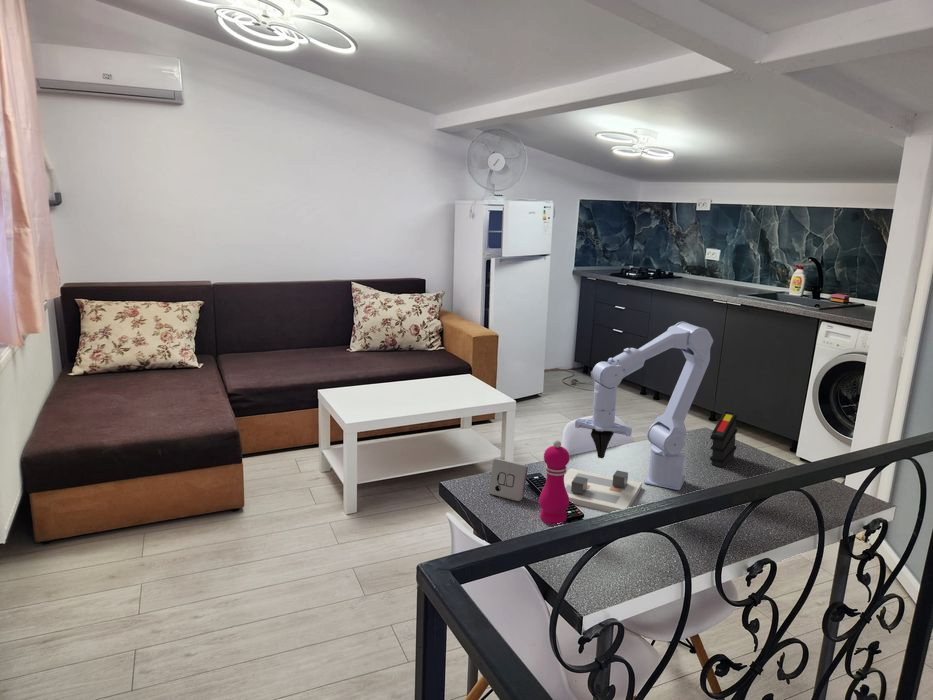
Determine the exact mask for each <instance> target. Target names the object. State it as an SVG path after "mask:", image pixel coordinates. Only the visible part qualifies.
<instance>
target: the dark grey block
mask: <svg viewBox="0 0 933 700" xmlns="http://www.w3.org/2000/svg"><path fill="white" fill-rule="evenodd" d="M612 477H613V484H612V486H617V487H622V488H624V487H625V485H626V484H627V481H628V480H629V472H627V471H622V470H618V469H617V470H616V471H615V472H614V474H613V475H612Z"/></svg>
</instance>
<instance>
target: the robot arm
mask: <svg viewBox="0 0 933 700" xmlns="http://www.w3.org/2000/svg"><path fill="white" fill-rule="evenodd" d="M713 343H714V339H713V337H712V335H711V333H710V331H709V330H708V329H707V328H706V327H705V328H704V327H700V326H697V325H694V324H691V323H688V322H686V321H679V322H677V323H676V324H674V325H671V326H669V327H668V328H667V330H666V331H664V332H663V333H662V334H659V335H658V336H657V337H655V338H654V339H652V340H650V341H649V342H647V343H645V344H644V345H642V346H641V347H639V348H636V347H635V348H634V347H626V348H624V349H623V351H622V352H621V353H619V354H617V355H615V356H614V357H609V358H608V359H607V361H599V362H598V363H596V364H595V365H594V367H593V368H592V370H591V371H590V376H591V379H592V380H593V382H594V383H593V385H594V386H593V387H594V388H593V400H592V401H593V402H592V419H583V418H577V419H575V421H574V422H575V423H574V424H575V425H574V428H576V429H580V428H581V429H586V430H591V432H590V437H591V438H592V441H593V443H594V446H595V450H596V453H597V458H598V459H604V458H605V456H606V452H607V447H608V445H609V443H610V441H611V439H612V437H614V434H617V435H625V436H626V437H631V435H632V431H633V430H632V427H631V426H627V425H625V424H620V423H617V422H615V420H616V407H617V406H616V405H617V404H616V403H617V387H618V386H619V385H620V384H621V382H622V380H623V379H624V378H625V377H627V376H629V375H631V374H632V373H634V372H636V371H638V370H640V369H642V368H643V367H644V365H645V362H646V360H649V359H651V358H653V357H655V356H658V355H659V354H661V353H664V352H665V351H667V350H670V349H680V350H681V352H682V354H683V356H684V358H685V359H686V361H685V364H684V365H683V368H682V371H681V373H680V375H679V377H678V380H677V382H676V384H675V387H674V389H673V391H672V395H671V396H670V399H669V401H668V403H667V406H666V407H665V411H664V413H662V414H660V415H658V416H657V417H656V418H655V420H654V422H653V423H652V424H651V425H650V426H649V428H648V429H647V432H646V437H647V440H648V442H650V455H649V466H648V475H647V476H646V478H645V480H644V484H647V485H651V486H657V487H661V488H666V489H670V490H671V489H672V490H676V491H680V490H681V489H682V487H683V485H684V483H685V478H686V466H687V454H683V453H682V451H683V449H684V448H685V445H686V443H685V441H686V439H685V438H686V435H687V433H688V432H687V427H686V424H685V420H686V417H687V415H688V413H689V410H690V408H691V406H692V404H693V401H694V399H695V397H696V394H697V392H698V390H699V387H700V386H701V383H702V381H703V378H704V376H705V373H706V371H707V369H708V366H709V364H710V361H711V347H712V345H713Z"/></svg>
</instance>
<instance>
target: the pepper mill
mask: <svg viewBox="0 0 933 700" xmlns="http://www.w3.org/2000/svg"><path fill="white" fill-rule="evenodd" d="M552 444H553V445H551V446H549V447H548V448H546V450H545V451H544V452H543V460H544V463H545V465H544V466H545V468H544V469H545V470H544V472H545V473H546V480H545V484H544V486H543V488H542V490H541V491H540V495H539V498H538V504H539V506H540V508H541V510H540V513H539V514H540V516H539V517H540V520H541V521H542V522H543V523H545V524H548V525H553V524H557V523H560V522H564V521H565V522H566V521H567V517H568V516H567V510H568V509H569V507H570V503H569V497H568V494H567V491H566V488H565V485H564V474H566V472H567V469H568V468H567V465H568V464H569V462H570V453H569V451H568V450H567V449H566V448H565V447H564V446H562V443H561V441H560V440H554V442H553V443H552ZM565 522H564V523H565ZM561 524H563V523H560V524H559V525H561ZM557 525H558V524H557Z"/></svg>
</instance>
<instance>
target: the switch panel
mask: <svg viewBox="0 0 933 700" xmlns="http://www.w3.org/2000/svg"><path fill="white" fill-rule="evenodd" d="M576 476H578V477H583V478H588V482H587V489H586V490H585V492H584V493H583V494H579V493H574V492H571V487H572V481H573V480H574V479H575V477H576ZM612 484H613V476H610V475H606V474H599V473H596V472H590V471H586V470H581V469H575V468H572V467H570V468H568V470H566V474H564V485H565V488H566V491H567V494H568V497H569V500H570V501H571V502H573V503H574V504H573V505H577V506H582V507H586V508H590V509H594V510H599V511H603V512H607V513H611V512H612V511H616V510H621V509H625V508H628V507H630V508H631V507H632V505H633V503H634V502H635V499H636V498H637V497H638V495H639V492H640V491H641V490H642V486H643V483H642V482H641V481H640V482H639V481H635V480H630V479H628V481H627V484H626V485H625V487H624V488H622V487H617V486H612Z"/></svg>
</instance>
